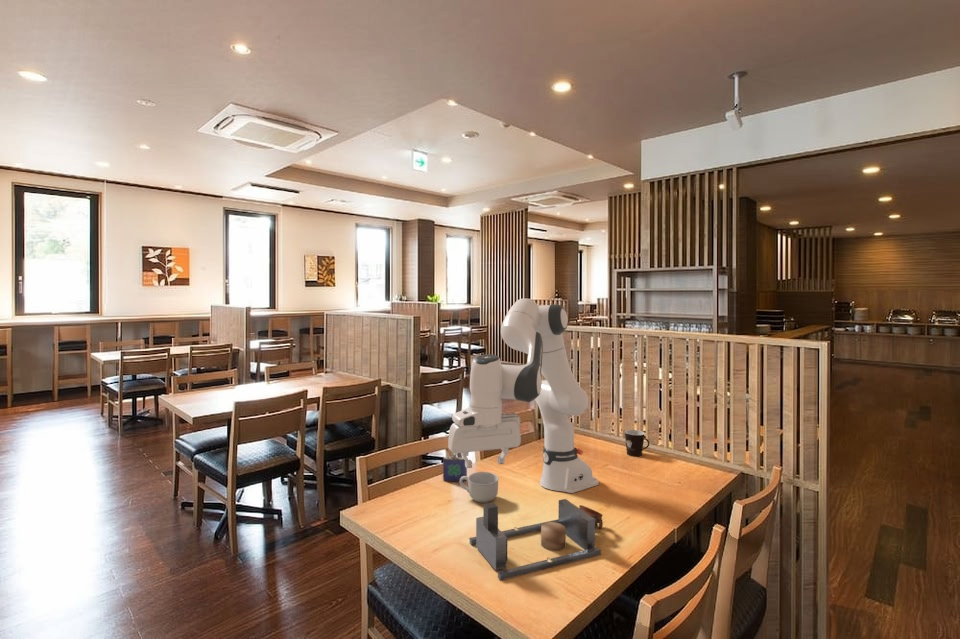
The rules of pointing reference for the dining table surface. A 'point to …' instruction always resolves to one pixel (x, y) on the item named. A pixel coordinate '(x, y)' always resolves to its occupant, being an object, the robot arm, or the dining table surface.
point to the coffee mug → (635, 442)
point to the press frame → (577, 529)
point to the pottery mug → (593, 515)
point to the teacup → (481, 486)
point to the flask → (454, 469)
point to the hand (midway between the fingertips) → (484, 465)
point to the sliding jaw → (491, 537)
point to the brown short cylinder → (553, 536)
